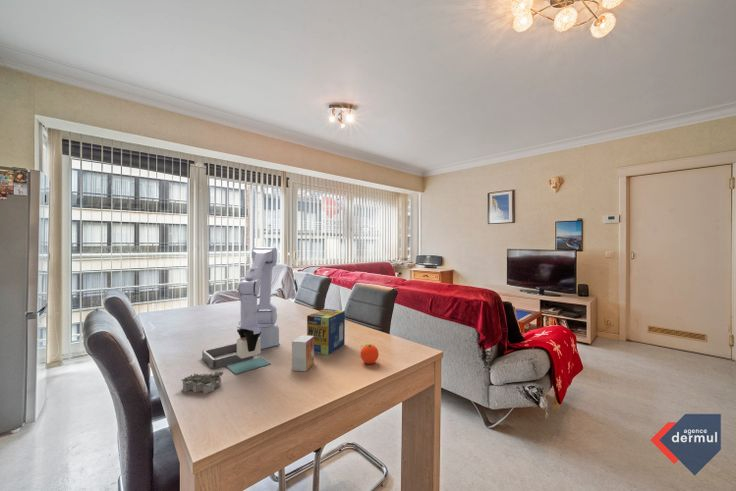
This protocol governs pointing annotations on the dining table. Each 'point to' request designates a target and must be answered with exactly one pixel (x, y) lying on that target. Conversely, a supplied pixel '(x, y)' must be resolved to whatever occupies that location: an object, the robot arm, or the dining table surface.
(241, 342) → the box
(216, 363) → the bin
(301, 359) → the small box
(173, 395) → the dining table surface
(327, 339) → the protein box
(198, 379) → the egg carton
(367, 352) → the clementine
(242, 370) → the mat
